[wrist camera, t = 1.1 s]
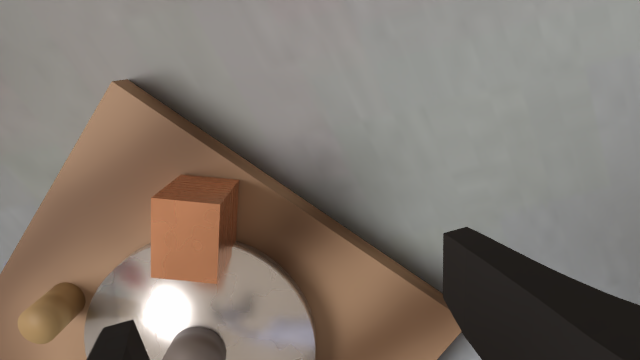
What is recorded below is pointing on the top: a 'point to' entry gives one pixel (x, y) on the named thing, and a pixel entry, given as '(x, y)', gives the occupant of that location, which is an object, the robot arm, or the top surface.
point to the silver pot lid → (204, 281)
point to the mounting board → (252, 229)
